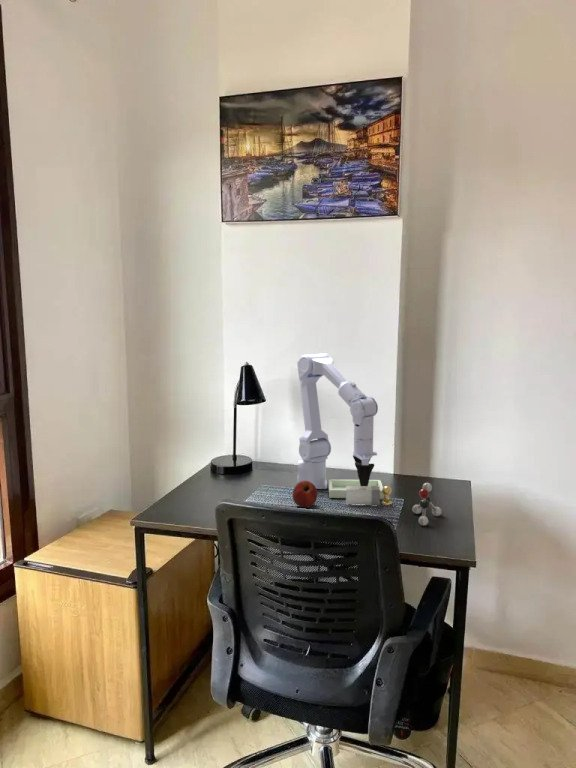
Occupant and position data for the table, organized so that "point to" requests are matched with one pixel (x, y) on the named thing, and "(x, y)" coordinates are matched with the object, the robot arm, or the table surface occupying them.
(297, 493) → the apple
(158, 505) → the table surface
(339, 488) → the tray
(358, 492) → the strut
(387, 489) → the door knob
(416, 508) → the molecular model
